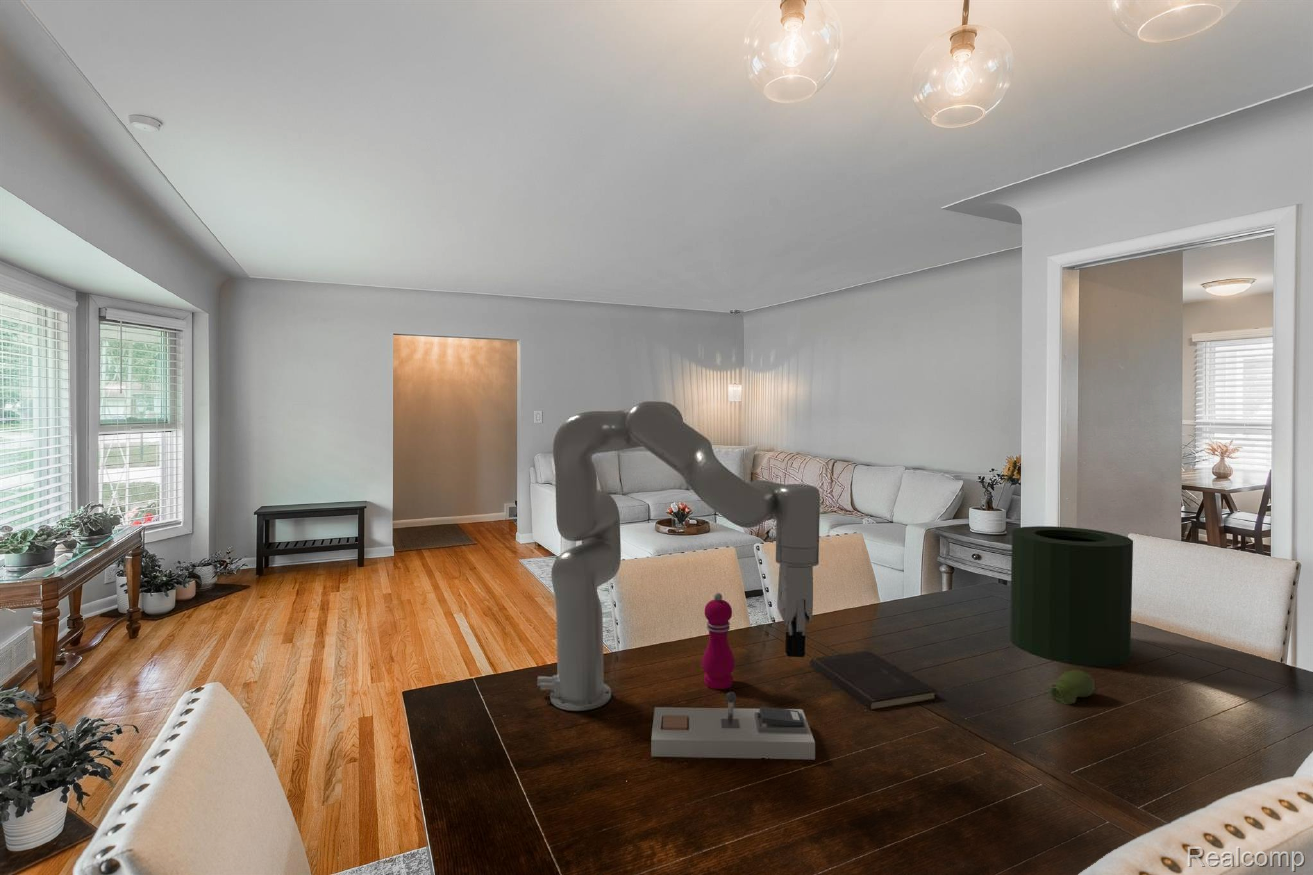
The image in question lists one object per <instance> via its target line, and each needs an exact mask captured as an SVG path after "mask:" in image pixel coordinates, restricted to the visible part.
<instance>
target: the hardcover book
mask: <svg viewBox="0 0 1313 875" xmlns="http://www.w3.org/2000/svg"><path fill="white" fill-rule="evenodd" d="M809 666H810V667H811V668H812V669H814V670H815V671H817V672H818V673H819V674H820V675H822V676H824V677H825V678H826V679H827V680H829V681H830V682H831V683H833V684H834V685H836V686H837V687H838V688H840V689H841V690H842V691H844V692H845V693H846V694H848V695H849V696H851V697H852V698H854V699H855V701H857V702H859V703H860V704H862V705H863V706H864V707H866V708H867V709H868V710H870V711H871V710H874V709H880V708H885V707H891V706H892V707H893V706H897V705H905V704H910V703H915V702H922V701H927V700H933V699H935V693H937V692H938V690H937V689H935V688H933V687H932V686H930V685H928V684H926V683H925V682H923V681H922V680H920V679H918V678H916V677H915V676H913V675H912V674H910V673H908V672H906V671H905V670H903V669H901V668H899V667H898V666H896V665H894V664H892V663H891V662H890V661H887V660H885V659H884V658H882V657H880V656H879V655H877V654H875V653H874V652H872V651H870V650H863V651H857V652H849V653H841V654H834V655H827V656H820V657H813V658H811V659H810V661H809Z"/></svg>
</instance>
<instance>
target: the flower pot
mask: <svg viewBox="0 0 1313 875" xmlns="http://www.w3.org/2000/svg"><path fill="white" fill-rule="evenodd" d="M1133 553H1134V540H1133V539H1132V538H1130V537H1128V536H1125V535H1121V534H1118V533H1114V532H1109V531H1103V530H1097V529H1096V530H1095V529H1090V528H1080V527H1071V526H1054V525H1053V526H1051V525H1050V526H1049V525H1048V526H1047V525H1046V526H1045V525H1039V526H1038V525H1037V526H1036V525H1034V526H1023V527H1016V528H1014V529H1012V530H1011V558H1010V559H1011V560H1010V562H1011V568H1010V569H1011V570H1010V571H1011V572H1010V575H1011V576H1010V619H1009V620H1010V623H1009V624H1010V625H1009V628H1010V630H1009V632H1010V633H1009V634H1010V635H1009V638H1010V642H1011V643H1012V644H1013V645H1014V646H1016V647H1017V648H1018V649H1020V650H1022V651H1024V652H1026V653H1028V654H1030V655H1032V656H1033V655H1034V656H1036V657H1039V658H1042V659H1046V660H1048V661H1053V662H1058V663H1061V664H1066V665H1075V666H1082V667H1091V668H1092V667H1093V668H1094V667H1095V668H1110V667H1118V666H1122V665H1124V664H1127V663H1129V662H1130V659H1131V646H1132V645H1131V644H1132V643H1131V642H1132V641H1131V640H1132V637H1131V636H1132V605H1133V604H1132V602H1133V601H1132V600H1133V599H1132V598H1133V596H1132V595H1133V568H1134V567H1133V565H1134V564H1133V563H1134V562H1133V561H1134V559H1133V558H1134V554H1133Z"/></svg>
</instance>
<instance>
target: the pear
mask: <svg viewBox="0 0 1313 875" xmlns="http://www.w3.org/2000/svg"><path fill="white" fill-rule="evenodd" d="M1095 686H1096V685H1095V681H1094V679H1093V677H1092V676H1091V675H1090V674H1089V673H1087V672H1086V671H1084V670H1081V669H1070V670H1067V671H1066V672H1064V673H1062V674H1061V675H1060V676H1059V677H1058V680H1057V681H1055V682H1054V683H1053V685H1052V688H1051V690H1050V695H1051V699H1054V700H1055V701H1056V702H1060V703H1062V704H1064V705H1072V704H1073V705H1074V704H1075V703H1076V701H1077V698H1078V697H1079V698H1086V697H1089V696H1091V695H1092V694H1093V693H1094V691H1095Z"/></svg>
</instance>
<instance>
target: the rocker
mask: <svg viewBox="0 0 1313 875" xmlns="http://www.w3.org/2000/svg"><path fill="white" fill-rule="evenodd" d="M759 709H760V710H759V712H760V717H761V721H762V723H764V724H772V725H780V726H789V727H802V720H801V718H800V715H799V712H798V711H795V710H787V709H788V708H779V707H769V706H762V705H760V706H759Z"/></svg>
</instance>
